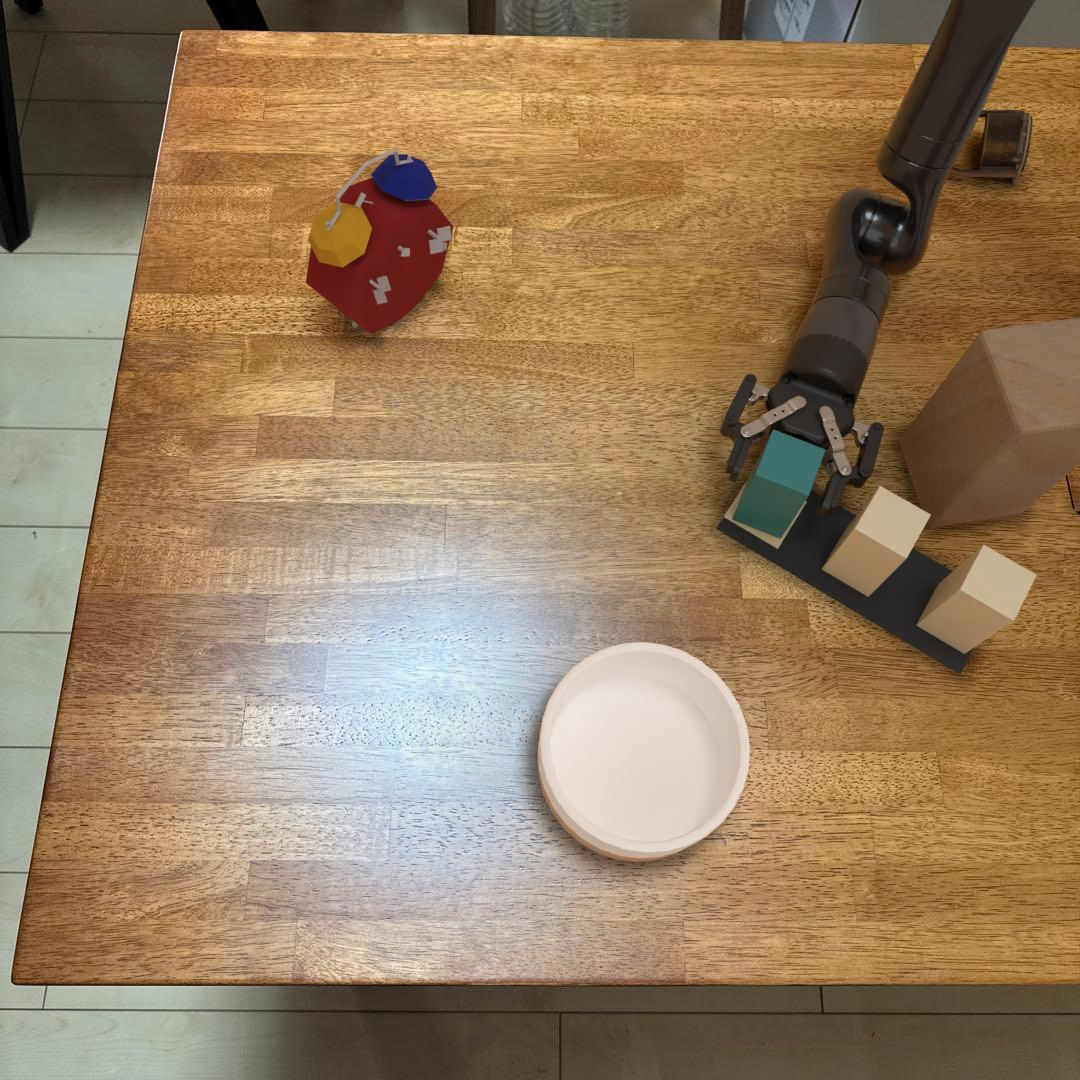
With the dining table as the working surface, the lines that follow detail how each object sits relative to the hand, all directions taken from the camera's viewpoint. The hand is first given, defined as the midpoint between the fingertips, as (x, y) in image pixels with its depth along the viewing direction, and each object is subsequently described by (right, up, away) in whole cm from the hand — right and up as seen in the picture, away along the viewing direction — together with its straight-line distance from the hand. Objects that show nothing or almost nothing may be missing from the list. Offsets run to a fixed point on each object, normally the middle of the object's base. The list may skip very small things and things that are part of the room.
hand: (777, 495), depth 93 cm
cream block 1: (+9, -6, +5) cm, 12 cm away
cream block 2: (+17, -11, +3) cm, 21 cm away
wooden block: (+20, +2, +10) cm, 23 cm away
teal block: (0, -1, +7) cm, 7 cm away
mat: (+9, -6, +6) cm, 12 cm away
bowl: (-13, -24, -2) cm, 27 cm away
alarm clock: (-37, +21, +15) cm, 45 cm away
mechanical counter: (+28, +40, +26) cm, 55 cm away
